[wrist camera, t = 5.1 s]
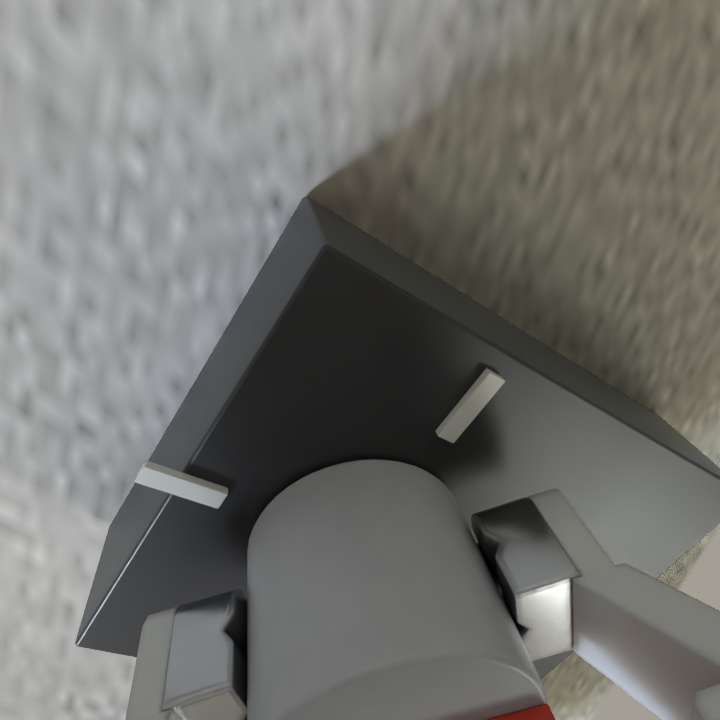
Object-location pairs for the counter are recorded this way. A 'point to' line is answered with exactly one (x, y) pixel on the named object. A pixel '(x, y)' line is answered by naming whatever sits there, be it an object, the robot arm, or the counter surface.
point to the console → (383, 427)
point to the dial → (378, 606)
